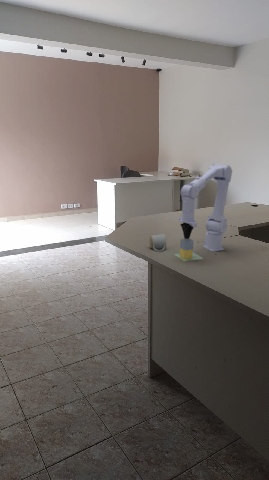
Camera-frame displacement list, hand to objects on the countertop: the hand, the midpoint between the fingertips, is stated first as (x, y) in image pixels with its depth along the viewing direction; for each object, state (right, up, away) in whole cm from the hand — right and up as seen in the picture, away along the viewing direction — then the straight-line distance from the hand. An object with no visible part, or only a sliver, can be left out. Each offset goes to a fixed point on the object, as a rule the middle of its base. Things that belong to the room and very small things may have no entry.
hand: (186, 238), depth 177 cm
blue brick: (0, -5, +1) cm, 5 cm away
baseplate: (+1, -9, +4) cm, 10 cm away
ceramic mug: (-12, -6, +17) cm, 22 cm away
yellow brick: (0, -9, +3) cm, 10 cm away
